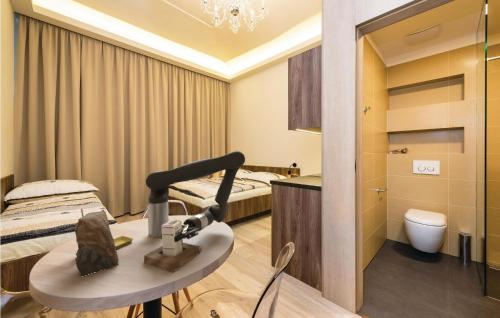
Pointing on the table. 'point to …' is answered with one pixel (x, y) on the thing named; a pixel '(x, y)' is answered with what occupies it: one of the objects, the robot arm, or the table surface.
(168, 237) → the syrup box
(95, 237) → the brown rough tall block
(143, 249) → the table surface
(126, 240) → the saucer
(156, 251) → the hole board
